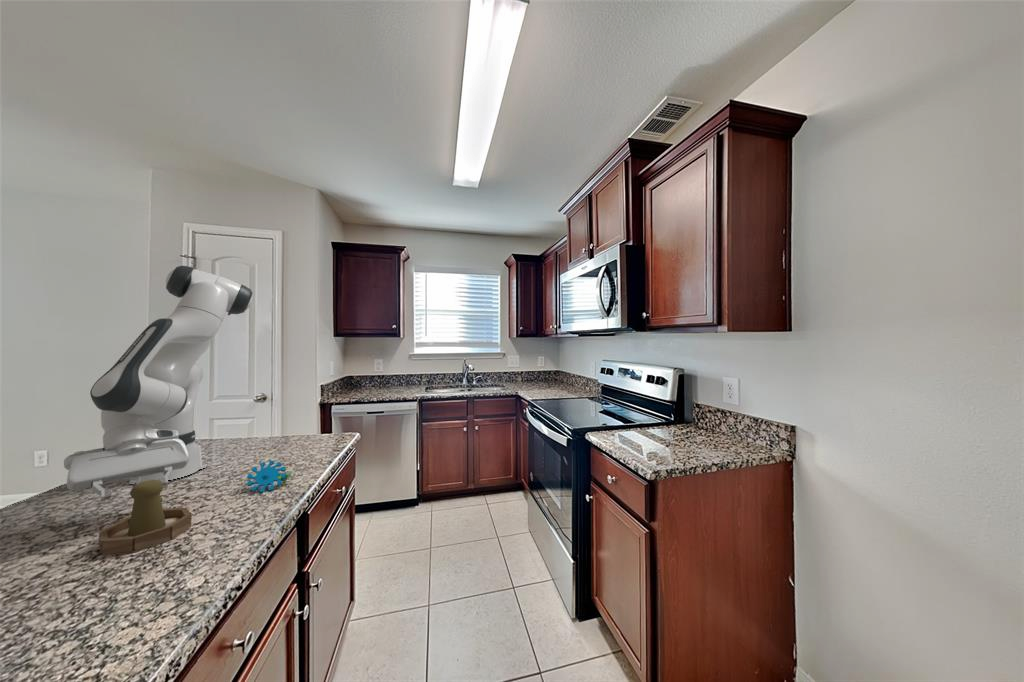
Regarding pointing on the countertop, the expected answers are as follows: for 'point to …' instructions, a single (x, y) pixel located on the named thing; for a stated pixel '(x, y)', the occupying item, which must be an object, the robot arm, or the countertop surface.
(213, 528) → the countertop surface
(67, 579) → the countertop surface
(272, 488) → the gear
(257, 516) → the countertop surface
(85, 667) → the countertop surface
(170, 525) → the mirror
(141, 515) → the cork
